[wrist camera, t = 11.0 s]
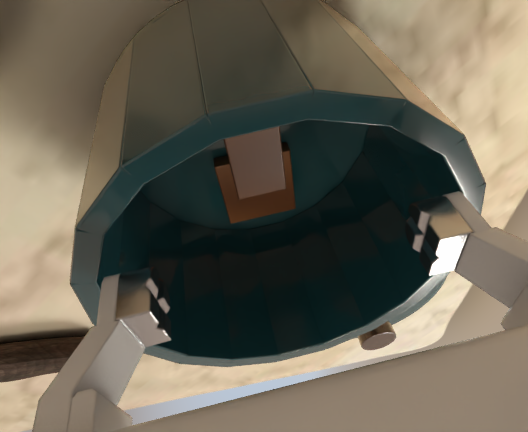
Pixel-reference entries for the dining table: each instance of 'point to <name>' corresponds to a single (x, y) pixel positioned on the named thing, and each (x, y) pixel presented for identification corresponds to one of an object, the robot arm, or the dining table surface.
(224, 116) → the pot
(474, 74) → the dining table surface
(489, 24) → the dining table surface
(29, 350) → the cleaver
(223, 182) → the brown stepped bar
